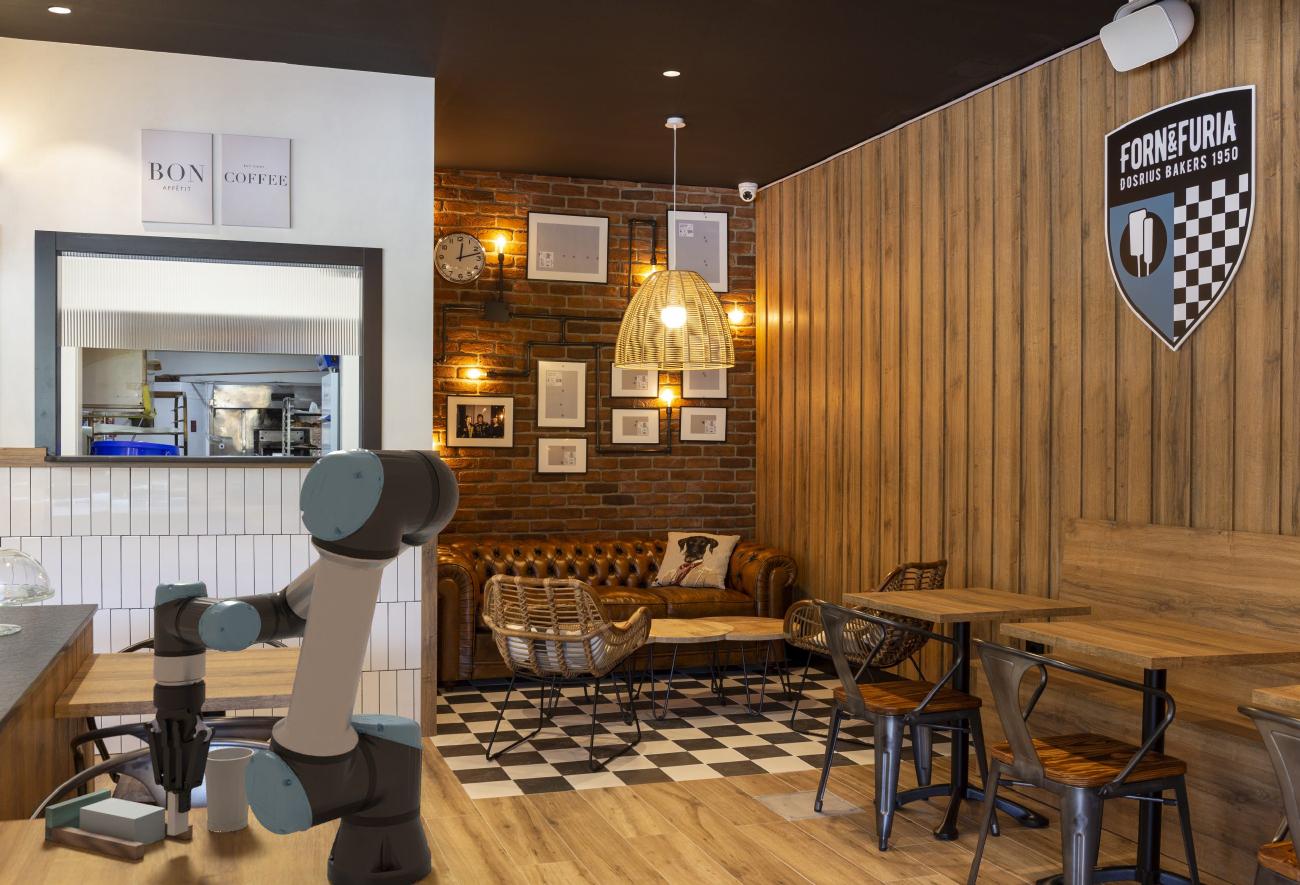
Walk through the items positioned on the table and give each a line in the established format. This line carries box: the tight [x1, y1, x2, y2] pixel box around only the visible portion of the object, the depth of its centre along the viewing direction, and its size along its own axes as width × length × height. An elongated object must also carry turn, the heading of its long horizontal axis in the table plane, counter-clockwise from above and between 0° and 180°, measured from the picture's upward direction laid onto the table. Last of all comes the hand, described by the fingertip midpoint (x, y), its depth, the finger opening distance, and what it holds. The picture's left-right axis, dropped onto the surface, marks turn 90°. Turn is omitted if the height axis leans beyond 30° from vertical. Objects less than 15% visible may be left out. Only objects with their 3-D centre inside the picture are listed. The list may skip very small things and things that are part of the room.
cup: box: [204, 746, 255, 833], centre depth 182 cm, size 8×8×12 cm
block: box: [79, 797, 166, 847], centre depth 175 cm, size 12×6×5 cm, turn 67°
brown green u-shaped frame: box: [44, 788, 194, 861], centre depth 175 cm, size 20×11×5 cm, turn 66°
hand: (177, 832), depth 170 cm, fingers closed
